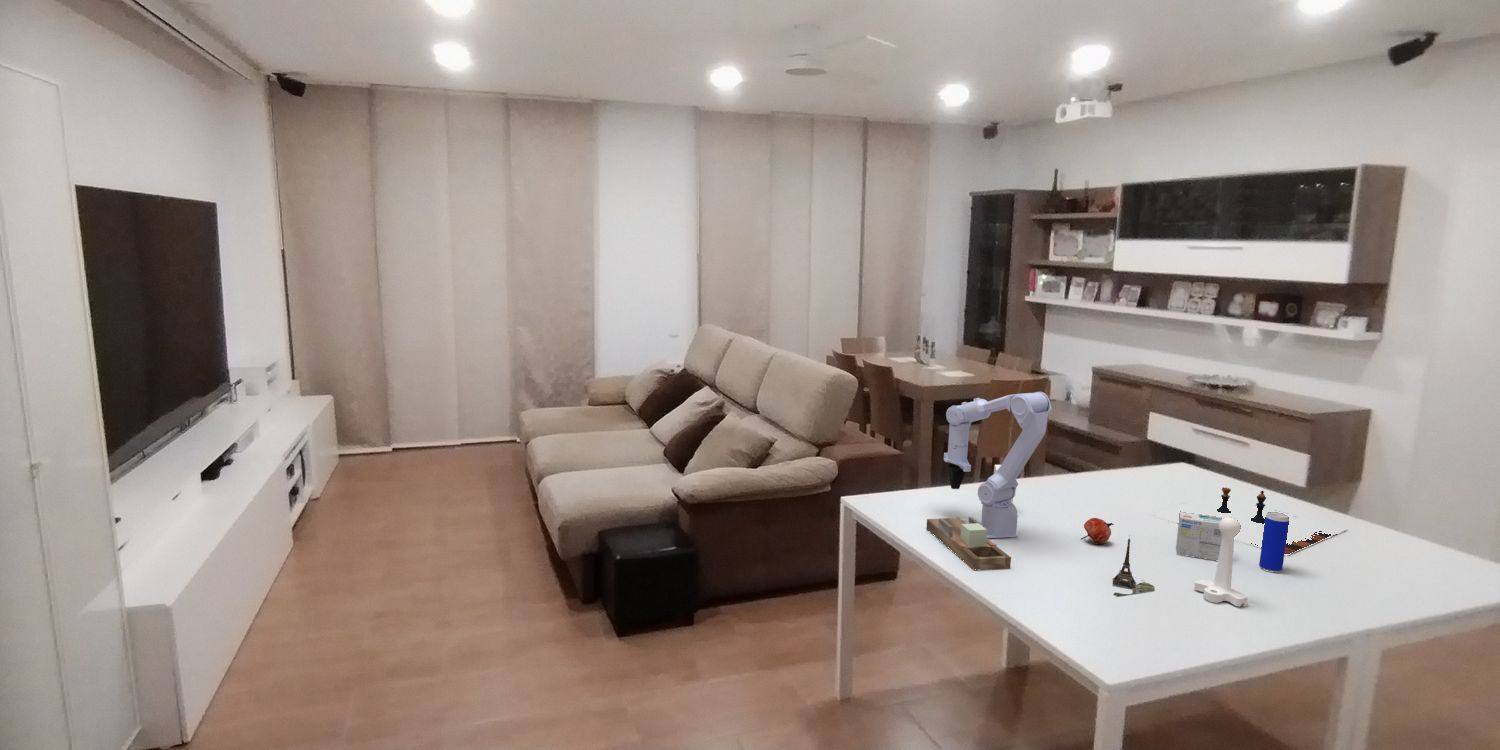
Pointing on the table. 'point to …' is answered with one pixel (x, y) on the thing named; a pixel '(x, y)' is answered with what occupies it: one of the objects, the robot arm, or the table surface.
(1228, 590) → the joystick
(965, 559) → the brown wooden long tray
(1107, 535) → the pomegranate
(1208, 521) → the light bulb box
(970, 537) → the green block
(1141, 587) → the eiffel tower figurine
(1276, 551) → the beverage can
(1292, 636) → the table surface
